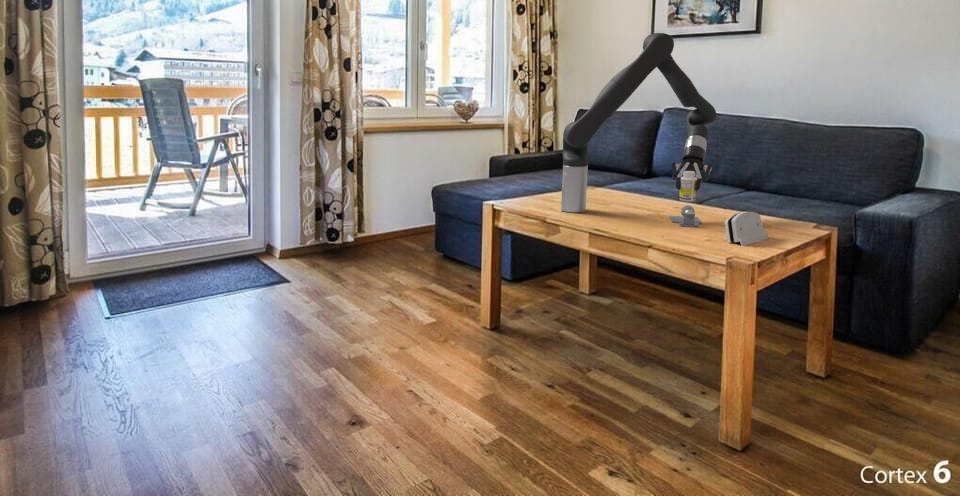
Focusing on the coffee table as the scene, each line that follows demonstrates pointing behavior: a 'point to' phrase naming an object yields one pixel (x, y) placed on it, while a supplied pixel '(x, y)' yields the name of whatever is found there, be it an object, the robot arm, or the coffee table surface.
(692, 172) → the supplement bottle
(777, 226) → the coffee table surface
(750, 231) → the grey rounded slab
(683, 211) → the shaft stub
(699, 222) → the plate
